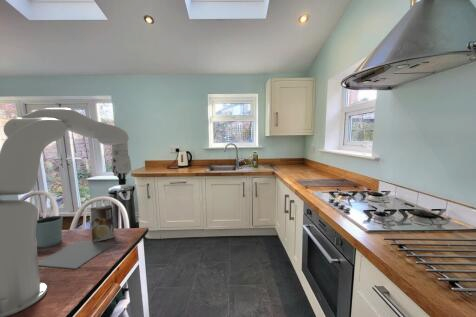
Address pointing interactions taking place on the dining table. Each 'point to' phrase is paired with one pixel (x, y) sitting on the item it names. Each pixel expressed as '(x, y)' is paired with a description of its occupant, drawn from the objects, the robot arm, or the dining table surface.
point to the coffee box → (102, 223)
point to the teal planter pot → (49, 231)
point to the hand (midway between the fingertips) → (122, 184)
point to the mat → (74, 255)
